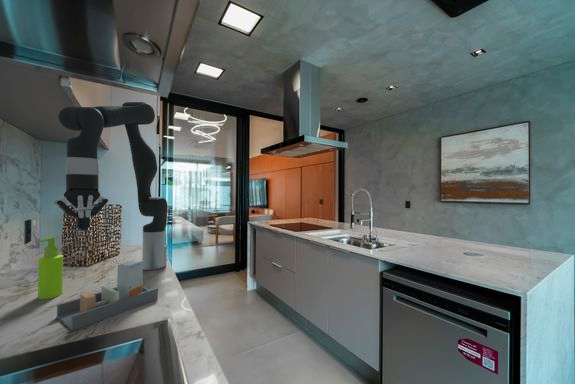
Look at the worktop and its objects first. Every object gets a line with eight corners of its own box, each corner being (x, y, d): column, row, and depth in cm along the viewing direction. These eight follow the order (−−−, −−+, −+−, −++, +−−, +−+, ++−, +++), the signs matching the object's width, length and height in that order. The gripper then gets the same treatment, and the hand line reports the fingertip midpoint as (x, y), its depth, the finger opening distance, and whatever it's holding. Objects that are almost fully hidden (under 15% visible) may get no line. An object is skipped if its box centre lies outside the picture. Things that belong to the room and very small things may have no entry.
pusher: (104, 300, 75) (105, 284, 75) (118, 308, 70) (119, 291, 70) (76, 309, 69) (77, 292, 70) (89, 319, 64) (90, 300, 64)
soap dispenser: (30, 301, 76) (31, 239, 76) (47, 292, 83) (48, 235, 83) (51, 300, 77) (52, 238, 77) (66, 291, 84) (67, 235, 84)
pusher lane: (139, 290, 85) (139, 280, 85) (157, 299, 79) (157, 288, 79) (56, 317, 67) (56, 304, 67) (72, 330, 60) (72, 316, 60)
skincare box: (127, 303, 74) (128, 265, 74) (116, 302, 75) (117, 264, 75) (143, 295, 80) (143, 260, 80) (132, 294, 81) (133, 259, 81)
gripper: (102, 174, 80) (103, 225, 80) (48, 172, 68) (49, 231, 69) (113, 174, 76) (113, 227, 76) (57, 171, 64) (58, 235, 65)
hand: (83, 229), depth 72 cm, fingers closed
